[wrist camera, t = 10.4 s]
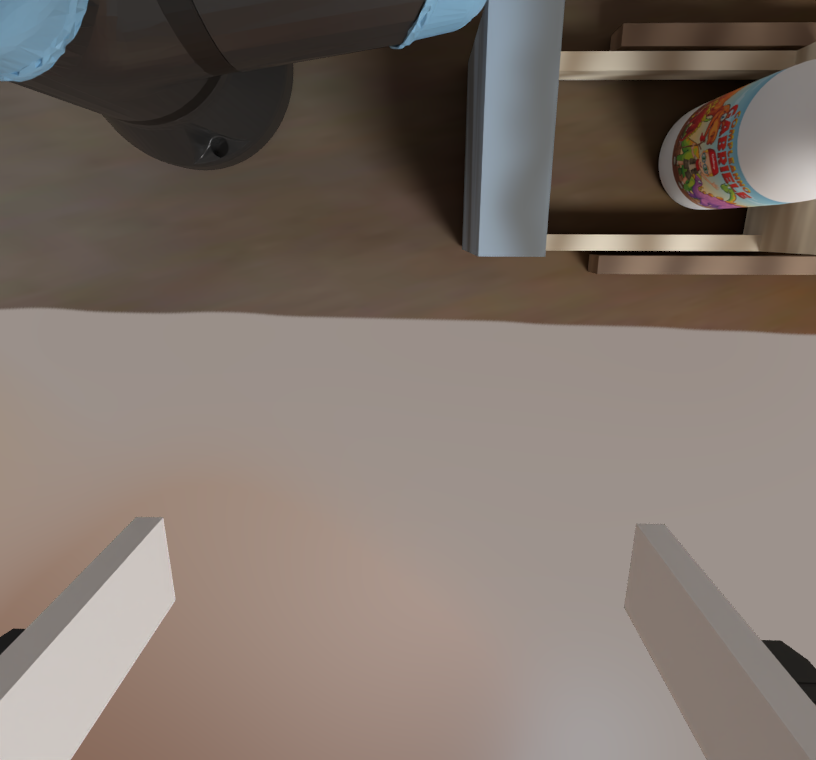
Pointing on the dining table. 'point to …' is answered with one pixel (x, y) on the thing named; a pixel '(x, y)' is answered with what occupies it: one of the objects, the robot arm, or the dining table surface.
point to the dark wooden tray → (709, 39)
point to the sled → (535, 128)
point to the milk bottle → (746, 145)
